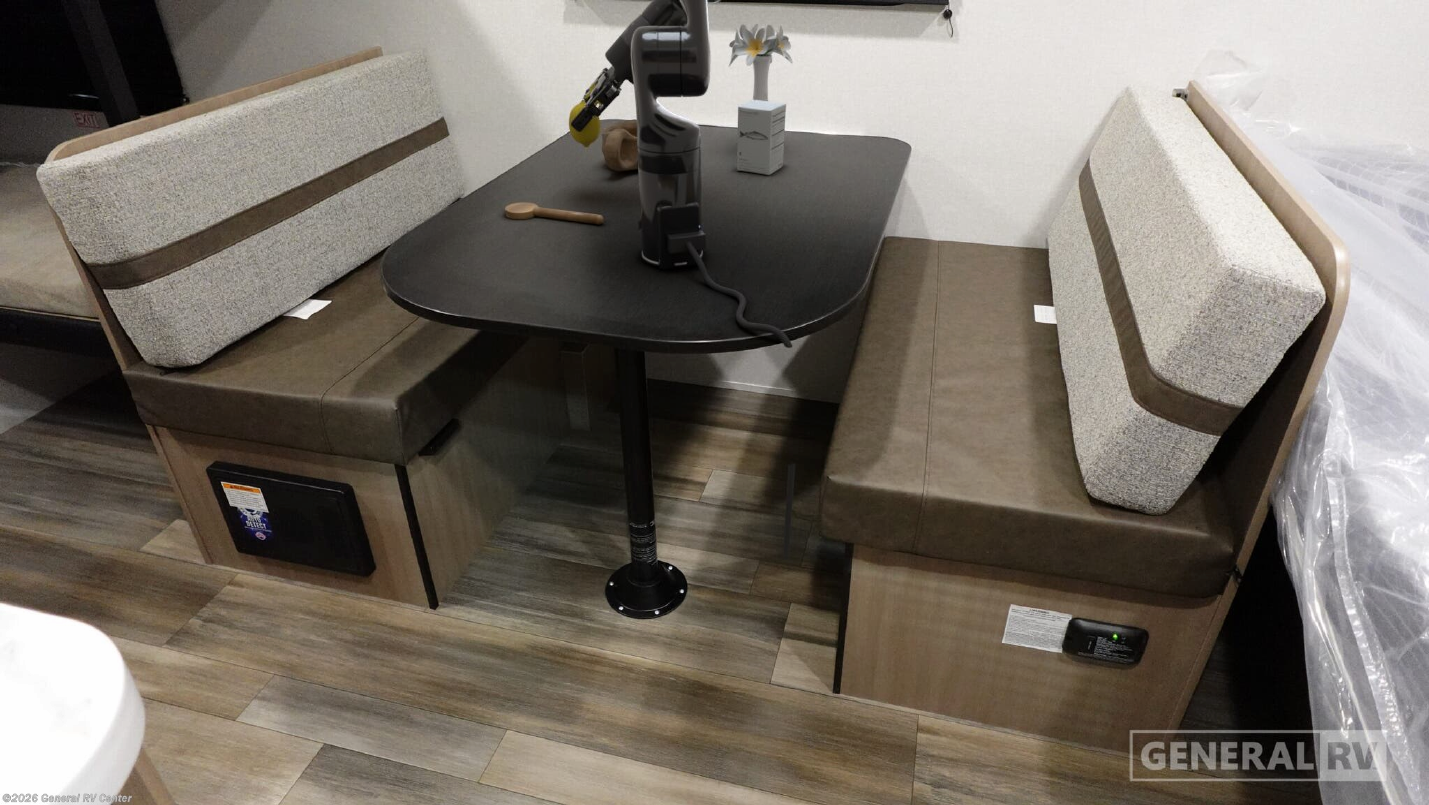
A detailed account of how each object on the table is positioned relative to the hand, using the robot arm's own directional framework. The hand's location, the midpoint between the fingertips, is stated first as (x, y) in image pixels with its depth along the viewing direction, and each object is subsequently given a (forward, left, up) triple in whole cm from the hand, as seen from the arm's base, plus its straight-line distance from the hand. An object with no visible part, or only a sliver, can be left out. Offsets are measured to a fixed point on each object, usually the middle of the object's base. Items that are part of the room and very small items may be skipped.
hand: (574, 123), depth 155 cm
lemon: (0, -2, -4) cm, 5 cm away
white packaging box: (+6, -38, -13) cm, 40 cm away
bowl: (+14, -14, -13) cm, 24 cm away
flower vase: (+21, -43, -13) cm, 49 cm away
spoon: (-10, +7, -13) cm, 18 cm away
